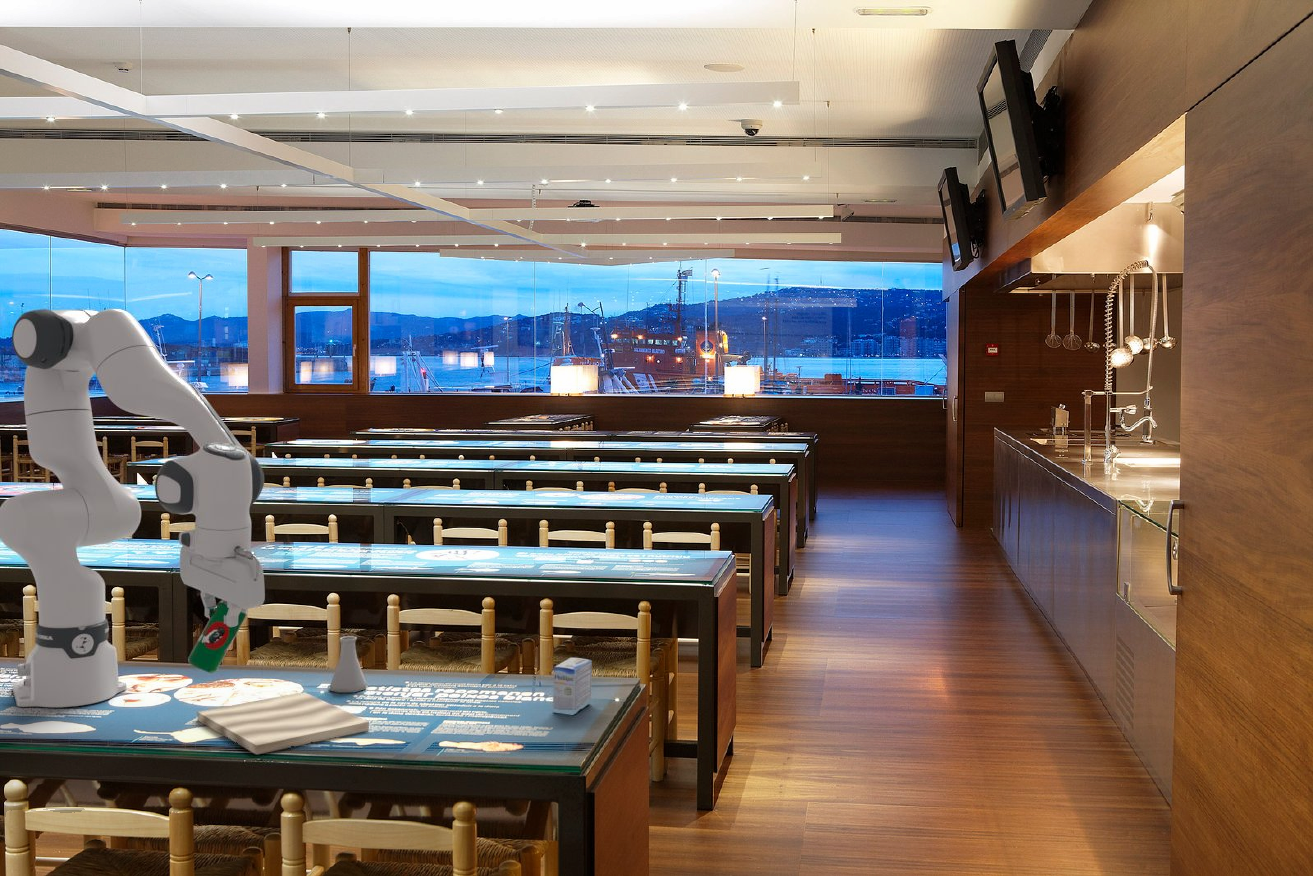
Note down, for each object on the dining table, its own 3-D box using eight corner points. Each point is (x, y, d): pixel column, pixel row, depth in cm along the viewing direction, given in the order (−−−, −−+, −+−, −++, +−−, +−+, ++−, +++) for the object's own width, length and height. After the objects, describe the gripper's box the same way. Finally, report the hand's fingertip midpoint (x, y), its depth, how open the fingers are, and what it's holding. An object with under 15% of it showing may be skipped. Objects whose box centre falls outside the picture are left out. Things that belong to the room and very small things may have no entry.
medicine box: (569, 702, 222) (570, 656, 222) (591, 705, 221) (592, 659, 221) (552, 713, 215) (552, 666, 215) (574, 716, 214) (575, 669, 213)
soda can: (219, 677, 198) (255, 611, 201) (194, 667, 195) (230, 600, 198) (206, 669, 202) (241, 604, 205) (181, 659, 198) (217, 593, 201)
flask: (356, 695, 225) (357, 643, 224) (321, 692, 226) (321, 640, 226) (373, 685, 232) (373, 635, 231) (339, 682, 233) (339, 632, 233)
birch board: (197, 720, 207) (197, 711, 207) (304, 700, 221) (304, 692, 221) (256, 754, 190) (256, 745, 189) (368, 730, 203) (368, 721, 203)
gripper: (275, 551, 193) (273, 633, 195) (207, 527, 206) (205, 604, 208) (241, 557, 188) (238, 640, 190) (173, 531, 201) (172, 610, 203)
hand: (221, 621), depth 199 cm, fingers open, 4 cm apart
